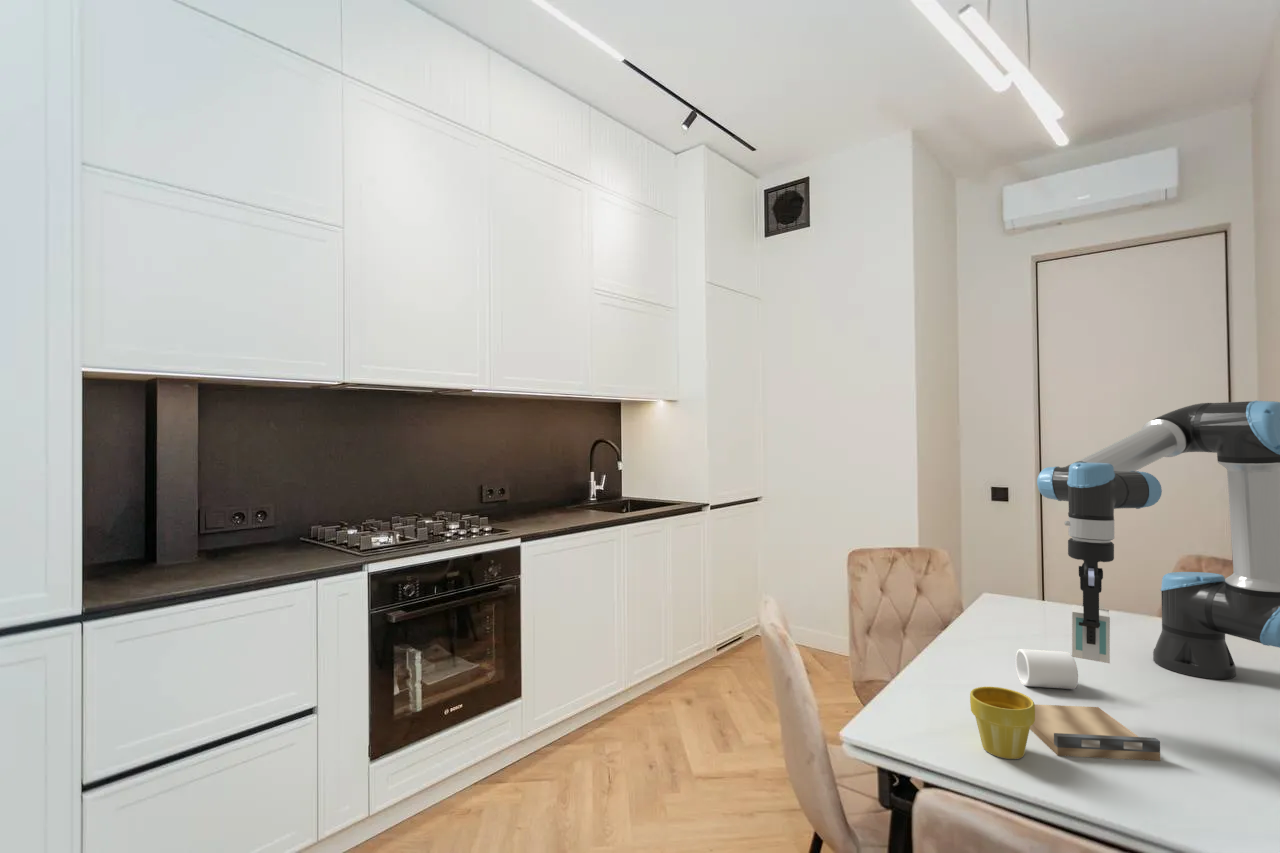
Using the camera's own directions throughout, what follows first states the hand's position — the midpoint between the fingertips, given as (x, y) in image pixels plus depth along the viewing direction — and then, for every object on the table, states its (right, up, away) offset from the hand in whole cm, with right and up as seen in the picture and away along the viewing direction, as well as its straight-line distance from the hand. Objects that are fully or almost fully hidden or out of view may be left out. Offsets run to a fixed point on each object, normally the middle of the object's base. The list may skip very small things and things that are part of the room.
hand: (1090, 653), depth 125 cm
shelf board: (-6, -14, -5) cm, 16 cm away
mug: (+3, -14, +19) cm, 24 cm away
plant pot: (-24, -14, -11) cm, 30 cm away
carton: (0, 0, 0) cm, 0 cm away
